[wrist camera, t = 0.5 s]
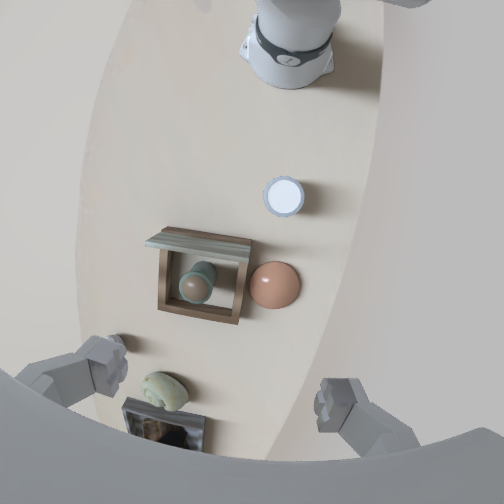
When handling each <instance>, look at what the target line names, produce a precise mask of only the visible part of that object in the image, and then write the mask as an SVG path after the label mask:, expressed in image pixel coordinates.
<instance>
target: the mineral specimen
mask: <svg viewBox="0 0 504 504" xmlns="http://www.w3.org/2000/svg"><path fill="white" fill-rule="evenodd" d="M142 426H143V432H144V434H143V438H144V439H147V440H151V441H154V442H158V443H162V444H166V445H170V446H174V447H178V448H182V449H187V450H190V448H189V445H188V443H187V440H186V435H187V434H188V433H187V432H186V431H185V429H184V428H183V427H182V426H178V425H173V424H169V423H165V422H161V421H158V420H154V419H151V418H144V422H143V424H142Z"/></svg>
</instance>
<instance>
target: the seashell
mask: <svg viewBox="0 0 504 504" xmlns="http://www.w3.org/2000/svg"><path fill="white" fill-rule="evenodd" d="M142 392H143V394H144V396H145V398H146V399H147V400H148V401H149V402H150V403H151V404H153V405H154V406H156V407H163V406H164V409H165V410H167V411H175V410H178V409H181V407H183V406H184V405H185V403H188V401H189V395H188V392H187V390H186V389H185V388H184V386H183V385H182V384H180V383H179V382H178V381H177V380H175V379H174V378H172V377H170V376H168V375H166V374H164V373H159V372H155V373H152V374H149V375H148V376H146V377H145V378H144V380H143V382H142Z"/></svg>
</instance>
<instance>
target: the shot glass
mask: <svg viewBox="0 0 504 504" xmlns="http://www.w3.org/2000/svg"><path fill="white" fill-rule="evenodd" d="M304 195H305V194H304V191H303V188H302V186H301V185H300V183H299V182H298V181H297V180H295V179H293V178H291V177H289V176H279V177H276V178H273V179H272V180H271V181H270V182H269V183H268V184H267V185H266V187H265V189H264V193H263V200H264V203H265V206H266V208H267V209H268V210H269V211H270V212H271V213H272V214H274V215H276V216H278V217H289V216H292V215H294V214H296V213H297V212H298V211H299V210H300V209H301V207H302V205H303V203H304Z"/></svg>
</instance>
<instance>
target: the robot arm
mask: <svg viewBox="0 0 504 504" xmlns="http://www.w3.org/2000/svg"><path fill="white" fill-rule="evenodd" d="M255 1H256V4H257V9H258V13H254V15H253V17H252V22H253V25H252V26H250V28H249V32H248V34H247V36H246V38H245V40H244V42H243V44H242V46H241V48H240V50H239V55H240V56H241V57H242V58H243V59H245V60H246V61H247V62H249V63H250V65H251V66H252V68H253V70H254V71H255V73H256V74H257V75H258V76H259V77H260V78H261V79H262V80H263V81H265V82H266V83H268V84H270V85H273V86H275V87H279V88H284V89H296V88H301V87H305V86H307V85H309V84H311V83H312V82H314V81H315V80H316V79H317V78H318V77H319V76H321V75H324V74H328V73H330V72H332V71H333V69H334V62H333V55H332V54H333V51H332V48H331V39H332V34H333V32H332V31H333V29H334V27H335V25H336V23H337V21H338V19H339V17H340V15H341V4H340V1H339V0H255ZM378 1H382V2H386V3H390V4H394V5H398V6H402V7H406V8H416V7H420V6H422V5H424V4H426V3H428V2H430V1H431V0H378ZM246 47H247V49H246ZM125 354H126V347H125V346H124V345H123V344H120V343H117V342H114V341H111V340H108V339H105V338H102V337H99V336H96V335H93V336H91V337H90V338H89V339H88V340H87V341H86V342H85V343H84V344H83V345H82V346H81V347H80V348H79V349H78V350H77V352H75V354H74V353H68V354H65V355H61V356H58V357H54V358H50V359H47V360H43V361H39V362H35V363H32V364H28V365H27V366H26V367H25V368H24V369H23V370H22V371H21V372H20V373H19V374H18V375H17V376H16V377H15V378H13V377H12V376H10V375H9V374H8V373H6V372H5V371H3V370H2V369H0V504H504V437H502V436H500V435H499V434H497V433H495V432H493V431H491V430H489V429H486V428H477V429H474V430H472V431H469V432H466V433H464V434H461V435H458V436H455V437H452V438H449V439H446V440H443V441H440V442H436V443H432V444H429V445H425V446H420V444H419V442H418V440H417V438H416V436H415V434H414V432H413V430H412V428H410V427H409V426H407V425H406V424H404V423H403V422H401V421H400V420H398V419H396V418H395V417H394V416H392V415H391V414H389V413H387V412H386V411H385V410H383V409H382V408H380V407H379V406H377V405H376V404H374V403H370V402H369V400H368V397H367V395H366V393H365V391H364V389H363V387H362V384H361V382H360V380H359V379H358V378H324V379H323V380H322V382H321V384H320V386H321V390H320V391H318V392H317V394H316V397H315V401H314V411H315V414H316V415H318V416H319V417H318V419H317V425H318V430H319V432H338V434H339V435H340V436H341V437H342V438H343V439H344V440H345V441H346V442H347V443H348V444H349V445H350V446H351V447H352V448H353V449H354V450H355V451H356V452H357V453H358V454H359V455H360V456H361V457H362V458H354V459H343V460H329V461H268V460H254V459H244V458H235V457H227V456H220V455H213V454H208V453H202V452H197V451H192V450H187V449H182V448H178V447H174V446H170V445H166V444H162V443H158V442H154V441H151V440H147V439H144V438H141V437H138V436H134V435H131V434H128V433H125V432H123V431H120V430H117V429H114V428H112V427H109V426H106V425H104V424H101V423H99V422H96V421H94V420H92V419H89V418H87V417H85V416H82V415H80V414H78V413H76V412H73V411H72V410H70V409H67V407H69V406H71V405H73V404H75V403H77V402H79V401H81V400H83V399H84V398H87V397H88V396H90V395H92V394H94V393H95V392H97V393H100V394H103V395H106V396H109V397H112V398H113V397H114V395H115V394H116V392H117V391H118V389H119V384H118V383H120V382H123V381H124V379H125V377H126V374H127V371H128V362H127V360H126V359H125V357H124V356H125Z"/></svg>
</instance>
